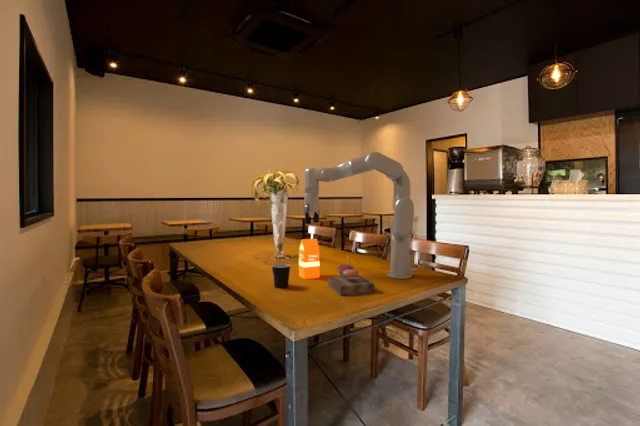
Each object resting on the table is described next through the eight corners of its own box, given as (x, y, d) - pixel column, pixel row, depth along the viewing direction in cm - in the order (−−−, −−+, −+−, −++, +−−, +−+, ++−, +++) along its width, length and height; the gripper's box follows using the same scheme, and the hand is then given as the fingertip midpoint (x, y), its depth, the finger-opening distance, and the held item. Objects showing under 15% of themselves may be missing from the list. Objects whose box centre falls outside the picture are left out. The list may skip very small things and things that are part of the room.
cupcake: (353, 276, 173) (353, 253, 172) (353, 280, 164) (353, 257, 164) (337, 275, 174) (337, 253, 173) (336, 280, 165) (336, 256, 165)
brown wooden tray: (359, 283, 159) (359, 275, 159) (374, 292, 144) (374, 283, 144) (328, 285, 155) (328, 277, 154) (340, 295, 139) (340, 286, 139)
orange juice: (298, 275, 174) (298, 238, 173) (313, 274, 178) (313, 237, 177) (304, 279, 167) (304, 240, 166) (319, 277, 171) (319, 239, 170)
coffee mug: (287, 289, 148) (287, 267, 148) (269, 288, 150) (269, 267, 150) (294, 282, 160) (294, 262, 159) (277, 281, 162) (277, 262, 161)
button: (354, 273, 154) (354, 268, 153) (361, 276, 147) (361, 272, 147) (340, 274, 151) (340, 269, 151) (346, 277, 145) (346, 273, 145)
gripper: (312, 191, 184) (313, 221, 185) (298, 191, 169) (298, 224, 170) (325, 191, 181) (325, 222, 182) (311, 191, 165) (311, 224, 166)
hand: (312, 223), depth 176 cm, fingers open, 9 cm apart
